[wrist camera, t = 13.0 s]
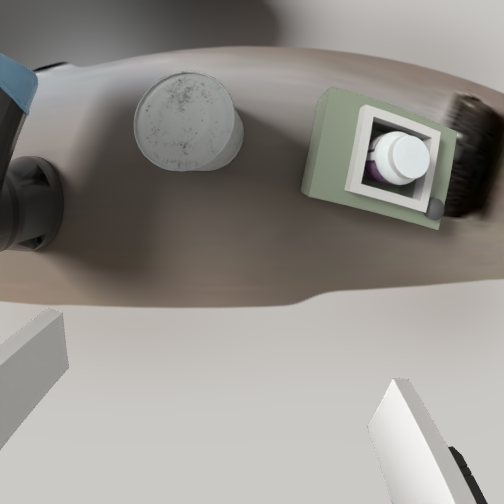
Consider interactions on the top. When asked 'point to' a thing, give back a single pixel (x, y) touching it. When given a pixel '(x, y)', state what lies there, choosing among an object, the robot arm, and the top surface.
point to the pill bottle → (396, 158)
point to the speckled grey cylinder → (188, 123)
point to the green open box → (355, 151)
